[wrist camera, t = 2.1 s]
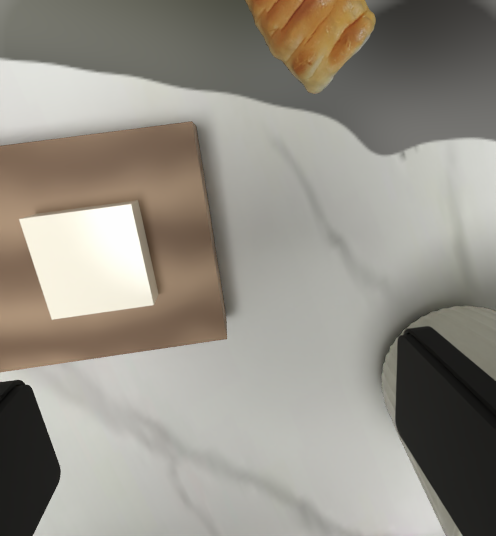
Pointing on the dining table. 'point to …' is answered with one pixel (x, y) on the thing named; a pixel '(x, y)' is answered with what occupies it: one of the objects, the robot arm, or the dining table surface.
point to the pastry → (313, 35)
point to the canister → (471, 345)
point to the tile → (91, 259)
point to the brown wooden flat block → (157, 234)
